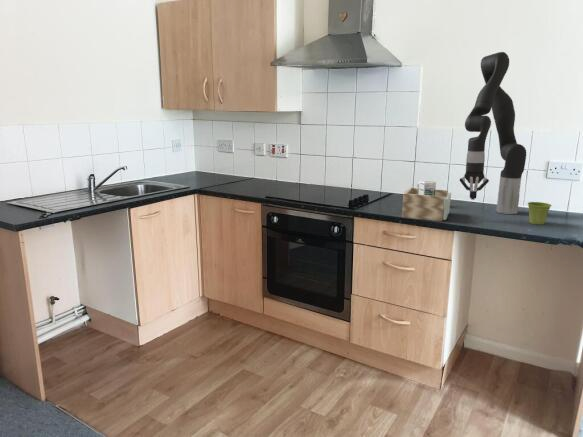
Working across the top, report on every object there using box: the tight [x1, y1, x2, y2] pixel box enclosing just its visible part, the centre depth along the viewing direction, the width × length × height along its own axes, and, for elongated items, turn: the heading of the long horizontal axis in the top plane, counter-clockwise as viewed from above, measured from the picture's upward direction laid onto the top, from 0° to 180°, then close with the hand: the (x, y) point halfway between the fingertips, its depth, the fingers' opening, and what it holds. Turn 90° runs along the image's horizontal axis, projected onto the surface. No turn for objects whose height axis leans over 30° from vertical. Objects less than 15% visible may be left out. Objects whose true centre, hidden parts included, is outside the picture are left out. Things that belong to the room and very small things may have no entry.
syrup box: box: [418, 180, 437, 196], centre depth 222 cm, size 6×6×14 cm
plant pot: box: [527, 201, 552, 226], centre depth 210 cm, size 9×9×9 cm
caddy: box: [401, 187, 449, 222], centre depth 223 cm, size 18×18×11 cm
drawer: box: [443, 192, 452, 221], centre depth 223 cm, size 18×18×9 cm
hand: (472, 199), depth 217 cm, fingers closed
